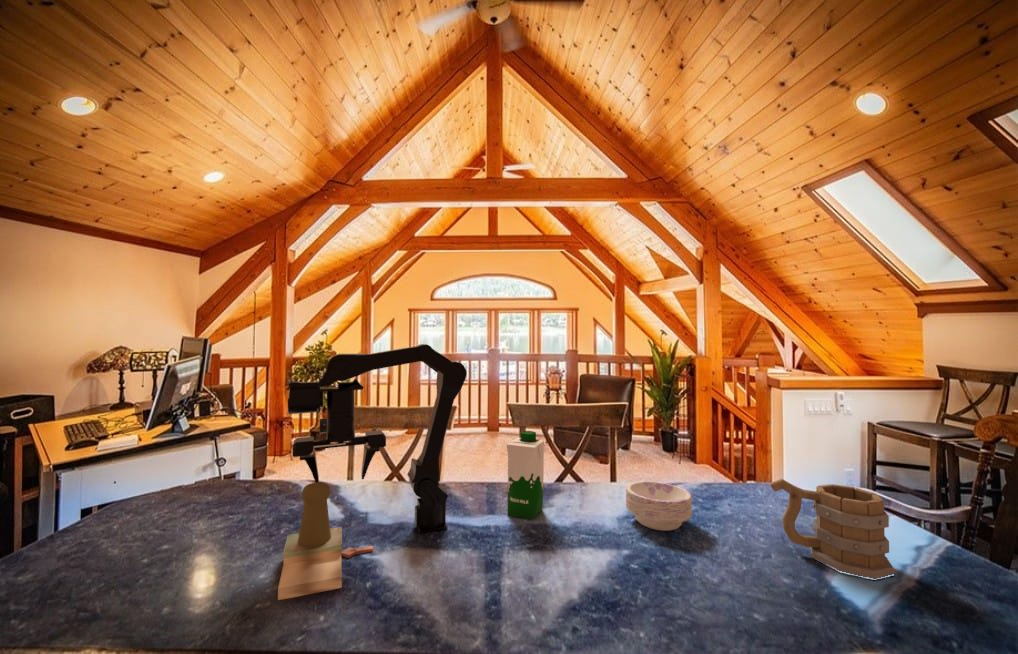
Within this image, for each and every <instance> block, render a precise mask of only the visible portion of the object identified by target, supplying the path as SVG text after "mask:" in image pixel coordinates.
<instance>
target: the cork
mask: <svg viewBox="0 0 1018 654" xmlns="http://www.w3.org/2000/svg"><path fill="white" fill-rule="evenodd" d="M330 494H331V488H330V485H329V484H328V483H327V482H323V481H319V482H315V481H314V482H311V483H309V484H306V485H305V486H304V488H303V489H302V491H301V499H302V501H303V504H304V505H303V510H302V514H301V521H300V526H299V532H298V534H299V537H298V545H300V546H303V547H315V546H319V545H322V544H325V543H326V542H328V541H329V540H330V539H331V533H330V529H331V525H330V524H331V523H330V515H329V505H328V499H329V497H330Z"/></svg>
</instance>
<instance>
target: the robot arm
mask: <svg viewBox="0 0 1018 654" xmlns="http://www.w3.org/2000/svg"><path fill="white" fill-rule="evenodd" d="M419 362H422V363H424V364H425V365H426V366H427V367H428V368H430V369H431V370H432V371H434V372H436V381H435V382H436V383H435V384H436V398H435V402H434V405H433V409H432V412H431V416H430V419H429V420H430V421H429V424H428V429H427V431H426V435H425V439H424V442H423V446H422V451H421V453H420V455H419V456H418V457H417V459H416V458H414V457H412V458H411V461H410V468H409V470H408V472H407V476H408V481H409V484H410V486H411V488H412V490H413V492H414V494H415V495H416V496H417V497H418V498H417V499H416V500H417V503H416V505H415V506H414V525H415V527H416V528H417V529H418V532H419V533H420V534H421V533H422V534H423V533H428V532H434V531H439V530H440V531H441V530H447V529H448V524H447V522H446V521H447V519H446V518H447V517H446V514H447V513H446V512H447V509H446V508H447V506H446V505H447V499H448V497H449V495H448V493H447V492H446V491H445V489H444V488H443V486H442V484H441V483H440V456H441V452H442V448H443V445H444V441H445V437H446V433H447V429H448V424H449V421H450V418H451V414H452V410H453V407H454V406H453V405H454V401H455V400H456V398H457V396H458V395H459V393H460V391H461V390H462V388H463V386H464V383H465V381H466V379H467V375H468V373H467V369H466V367H465V365H464V364H462V362H459V361H455V360H450V359H449V358H447V356H444V355H442V354H441V353H440V352H438V350H437V351H436V349H434V348H433V347H432V346H430V345H429V344H425V343H423V344H422V343H421V344H418V345H416V346H409V347H401V348H397V349H390V350H385V351H379V352H372V353H337V354H334V355H332V356H331V357H330V359H329V360H328V362H327V365H326V371H325V372H324V373H323V375H322V376H320V377H319V379H318V381H299V380H298V381H291V382H290V383H289V393H288V398H287V412H288V415H298V414H309V413H312V414H313V413H319V410H321V408H324V398H325V397H324V393H325V392H326V418H319V434H323V435H324V434H325V436H326V439H319V440H318V439H317V440H314V439H315V437H314V436H302V437H296V438H295V439H294V440H293V442H292V457H293V458H294V457H295V458H298V457H299V461H305V462H306V463H305V464H307V466H308V468H309V470H310V472H311V475H312V477H313V479H314V483H315V482H320V479H319V477H320V476H319V469H318V462H317V454H316V450H323V449H333V448H342V447H343V448H344V447H350V446H351V447H352V446H362V445H363V456H362V463H361V475H360V476H361V480H364V479H365V477H366V474H367V472H368V468H369V467H370V463H371V461H372V459H373V458H374V455H375V454H376V453H377V452H380V451H381V449H380V448H385V447H386V446H387V436H386V435H385V432H383V431H382V430H381V429H378V430H368V431H365V435H359V436H355V435H356V434H355V432H356V431H355V427H356V426H355V425H356V424H355V417H356V416H355V413H356V412H355V406H356V404H355V395H356V394H355V393H356V391H358V390H360V391H362V390H364V386H363V384H361V383H360V382H359V381H358V379H357V378H355V377H358V376H361V375H363V374H366V373H368V372H371V371H373V370H379V369H385V368H390V367H395V366H402V365H408V364H413V363H419ZM349 379H353V380H352V381H350V382H349V381H348V380H349ZM337 381H338V383H337V384H338V385H337V386H333V387H330V386H331V385H333V384H334V383H336V382H337ZM344 381H348V382H344Z"/></svg>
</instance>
